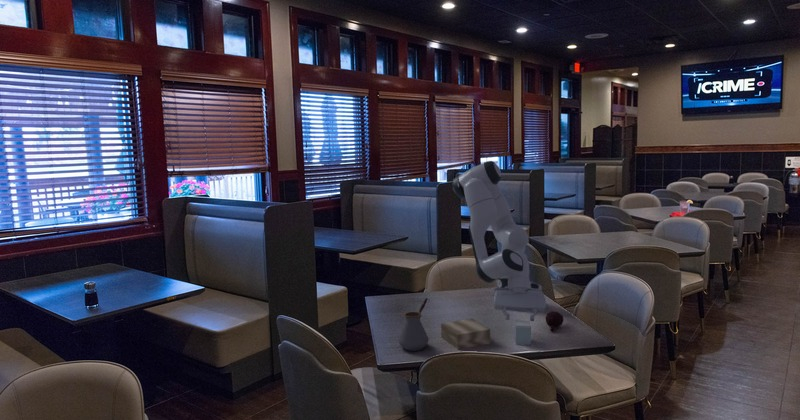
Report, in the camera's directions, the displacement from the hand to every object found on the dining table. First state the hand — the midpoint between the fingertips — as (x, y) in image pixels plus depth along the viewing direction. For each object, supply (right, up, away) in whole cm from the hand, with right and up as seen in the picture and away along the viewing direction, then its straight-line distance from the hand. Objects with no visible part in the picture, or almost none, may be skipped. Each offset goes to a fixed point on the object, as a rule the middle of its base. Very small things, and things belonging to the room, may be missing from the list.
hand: (519, 319), depth 210 cm
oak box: (-21, -9, +1) cm, 23 cm away
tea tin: (+1, -8, -2) cm, 8 cm away
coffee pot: (-39, -9, 0) cm, 40 cm away
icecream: (+17, -6, +13) cm, 22 cm away
